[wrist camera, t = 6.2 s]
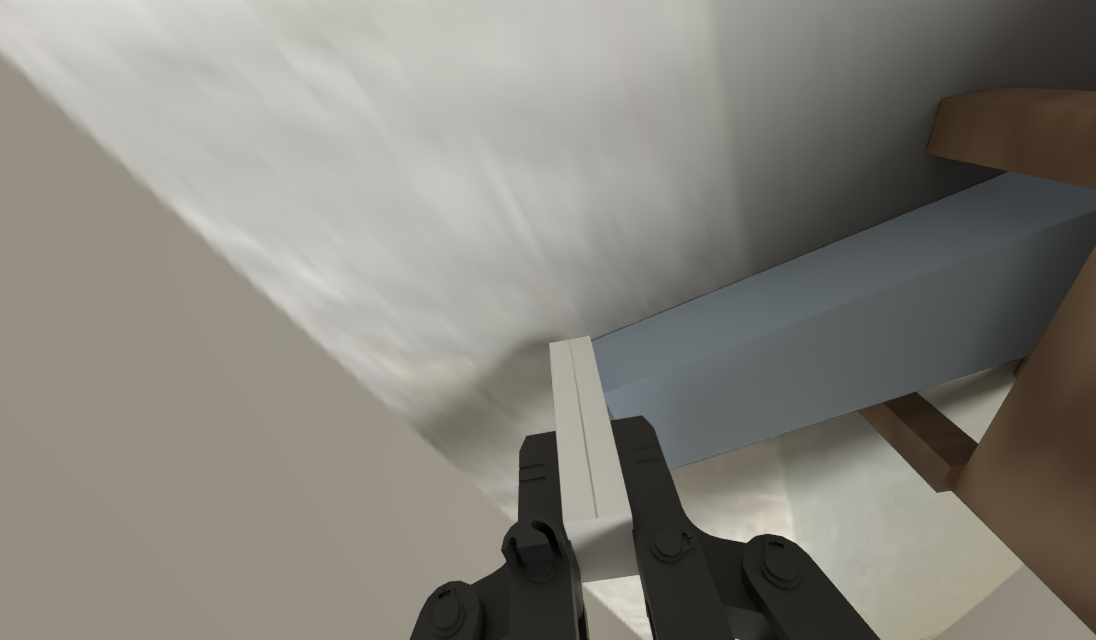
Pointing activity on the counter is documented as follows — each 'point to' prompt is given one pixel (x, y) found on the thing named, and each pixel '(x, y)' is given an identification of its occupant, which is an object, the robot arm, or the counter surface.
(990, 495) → the cabinet
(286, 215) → the counter surface
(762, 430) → the batten
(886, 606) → the counter surface
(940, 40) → the counter surface
